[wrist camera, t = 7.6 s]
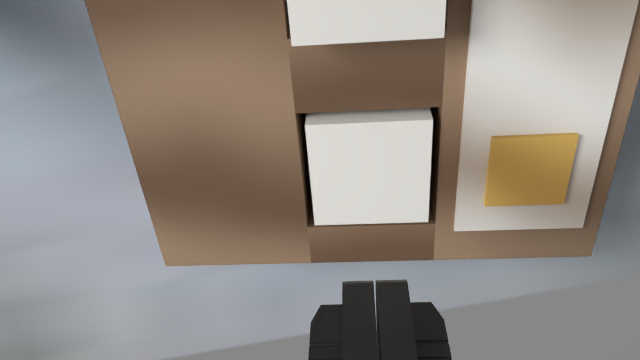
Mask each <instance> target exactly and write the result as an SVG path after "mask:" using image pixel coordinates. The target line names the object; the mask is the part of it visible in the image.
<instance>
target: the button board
mask: <svg viewBox="0 0 640 360" xmlns="http://www.w3.org/2000/svg"><path fill="white" fill-rule="evenodd" d="M84 1H85V4H86V7H87V11H88V14H89V17H90V20H91V24H92V27H93V30H94V33H95V37H96V40H97V43H98V46H99V50H100V53H101V56H102V59H103V63H104V66H105V69H106V73H107V76H108V79H109V82H110V86H111V89H112V92H113V95H114V99H115V102H116V105H117V108H118V112H119V115H120V118H121V122H122V125H123V128H124V131H125V135H126V138H127V141H128V144H129V148H130V151H131V154H132V157H133V161H134V164H135V167H136V170H137V174H138V177H139V180H140V184H141V187H142V190H143V193H144V197H145V200H146V203H147V206H148V210H149V213H150V216H151V219H152V223H153V226H154V229H155V233H156V236H157V239H158V242H159V246H160V249H161V252H162V255H163V259H164V262H165V265H166V266H192V265H235V264H277V263H320V262H363V261H406V260H449V259H492V258H535V257H578V256H591V255H592V251H593V247H594V244H595V240H596V236H597V232H598V229H599V225H600V221H601V217H602V214H603V210H604V206H605V202H606V199H607V195H608V191H609V188H610V184H611V180H612V176H613V173H614V169H615V165H616V161H617V158H618V154H619V150H620V146H621V143H622V139H623V135H624V132H625V128H626V124H627V120H628V117H629V113H630V109H631V105H632V102H633V98H634V94H635V90H636V87H637V83H638V79H639V76H640V0H446V14H445V32H444V38H433V39H415V40H397V41H379V42H361V43H343V44H325V45H307V46H292V45H291V35H290V25H289V16H288V6H287V0H84ZM427 107H430V111H431V114H432V118H433V133H432V154H431V175H430V196H429V217H428V222H414V223H380V224H345V225H315V223H314V213H313V203H312V193H311V183H310V173H309V163H308V152H307V142H306V132H305V121H306V114H307V113H317V112H339V111H361V110H383V109H405V108H427Z"/></svg>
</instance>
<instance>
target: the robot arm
mask: <svg viewBox="0 0 640 360" xmlns="http://www.w3.org/2000/svg"><path fill="white" fill-rule="evenodd" d="M376 319H377V331H376ZM377 345H378V347H377ZM309 360H452V359H451V353H450V347H449V344H448V337H447V332H446V327H445V322H444V319H443V318H442V316H441V315H440V314H439V312H438V311H437V309H436V308H435V307H434V305H433V304H432V303H431V302H415V303H410V297H409V290H408V283H407V280H376V316H375V300H374V285H373V281H345V282H343V289H342V304H341V305H321V306H320V307H319V309H318V311H317V313H316V315H315V316H314V318H313V320H312V322H311V328H310V347H309Z"/></svg>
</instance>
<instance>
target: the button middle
mask: <svg viewBox="0 0 640 360" xmlns="http://www.w3.org/2000/svg"><path fill="white" fill-rule="evenodd" d="M287 6H288V16H289V25H290V35H291V45H292V46H307V45H325V44H343V43H361V42H379V41H397V40H415V39H433V38H444V32H445V14H446V0H287Z"/></svg>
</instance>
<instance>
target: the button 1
mask: <svg viewBox="0 0 640 360" xmlns="http://www.w3.org/2000/svg"><path fill="white" fill-rule="evenodd" d="M305 132H306V142H307V152H308V163H309V173H310V183H311V193H312V203H313V213H314V223H315V225H345V224H380V223H414V222H428V217H429V196H430V175H431V154H432V133H433V118H432V114H431V111H430V107H427V108H405V109H383V110H361V111H339V112H317V113H307V114H306V121H305Z"/></svg>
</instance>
